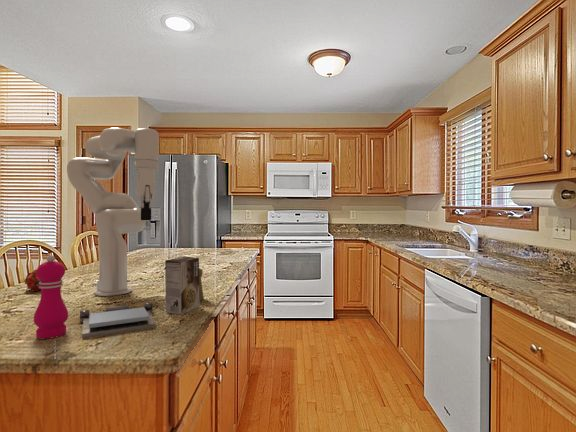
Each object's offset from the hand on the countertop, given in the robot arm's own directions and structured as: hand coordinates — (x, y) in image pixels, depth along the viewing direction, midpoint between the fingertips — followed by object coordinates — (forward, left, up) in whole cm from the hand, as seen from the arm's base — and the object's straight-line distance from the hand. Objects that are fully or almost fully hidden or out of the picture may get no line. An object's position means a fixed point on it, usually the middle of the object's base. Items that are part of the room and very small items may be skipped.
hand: (145, 220), depth 119 cm
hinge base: (+9, -22, -28) cm, 36 cm away
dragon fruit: (-52, +2, -28) cm, 59 cm away
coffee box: (+17, -5, -28) cm, 34 cm away
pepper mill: (-1, -34, -28) cm, 44 cm away
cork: (+14, +7, -28) cm, 32 cm away
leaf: (+8, -21, -27) cm, 35 cm away
